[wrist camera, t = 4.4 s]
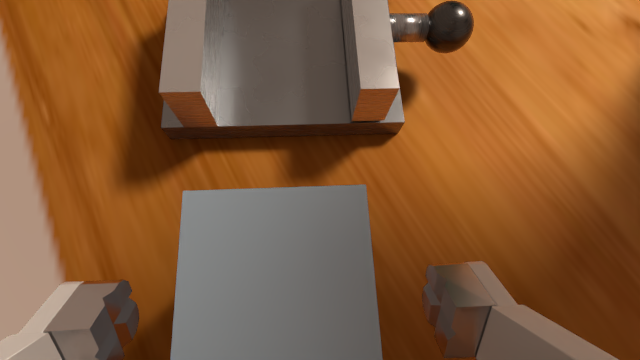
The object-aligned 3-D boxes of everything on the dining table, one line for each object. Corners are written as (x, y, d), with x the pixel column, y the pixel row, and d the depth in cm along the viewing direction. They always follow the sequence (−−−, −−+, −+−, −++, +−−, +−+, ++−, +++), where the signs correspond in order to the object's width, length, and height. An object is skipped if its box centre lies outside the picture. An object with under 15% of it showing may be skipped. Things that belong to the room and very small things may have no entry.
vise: (183, 6, 19) (152, -67, 15) (380, 5, 19) (399, -65, 16) (171, 139, 16) (130, 92, 12) (397, 133, 17) (425, 87, 13)
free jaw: (339, -16, 18) (345, -65, 15) (445, -16, 18) (467, -64, 16) (351, 121, 15) (360, 88, 13) (473, 118, 16) (505, 86, 13)
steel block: (243, 241, 15) (183, 191, 7) (334, 237, 15) (366, 184, 8) (242, 341, 14) (166, 403, 6) (340, 335, 14) (385, 387, 6)
